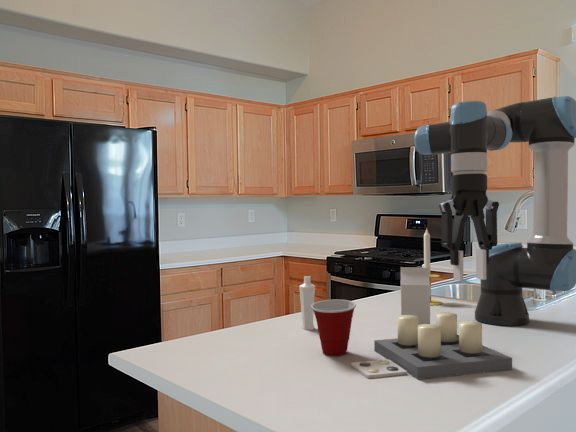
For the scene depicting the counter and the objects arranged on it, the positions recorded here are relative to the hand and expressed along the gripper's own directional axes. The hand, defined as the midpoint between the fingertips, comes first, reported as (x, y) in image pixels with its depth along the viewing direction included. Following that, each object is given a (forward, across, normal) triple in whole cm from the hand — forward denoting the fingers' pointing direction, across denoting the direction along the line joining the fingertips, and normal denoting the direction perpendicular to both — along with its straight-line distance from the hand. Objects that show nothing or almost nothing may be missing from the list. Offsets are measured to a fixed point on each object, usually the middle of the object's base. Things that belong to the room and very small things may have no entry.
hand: (469, 279), depth 115 cm
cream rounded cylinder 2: (+16, 0, 0) cm, 16 cm away
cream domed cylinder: (+16, +10, 0) cm, 19 cm away
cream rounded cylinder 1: (+16, 0, -10) cm, 19 cm away
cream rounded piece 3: (+16, +10, -10) cm, 21 cm away
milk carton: (+19, +2, -22) cm, 29 cm away
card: (+19, +21, -2) cm, 28 cm away
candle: (+19, -26, -67) cm, 74 cm away
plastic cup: (+19, +26, -17) cm, 36 cm away
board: (+19, +5, -5) cm, 20 cm away
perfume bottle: (+19, +25, -43) cm, 53 cm away
